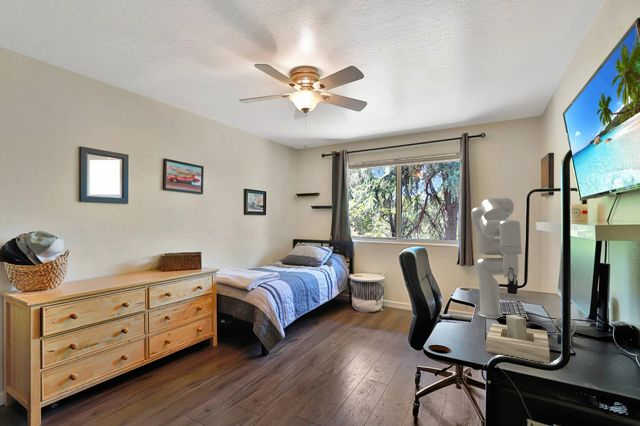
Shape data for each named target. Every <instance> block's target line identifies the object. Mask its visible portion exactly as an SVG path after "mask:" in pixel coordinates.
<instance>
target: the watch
mask: <svg viewBox="0 0 640 426" xmlns="http://www.w3.org/2000/svg"><path fill="white" fill-rule="evenodd" d="M561 316H562V315H560V316H559V315H558V316H557V317H556V319H555V320H553V323H552V325H551V326H552V328H553V330H554V332H556V334H557V337H556V338H557V345H561V333H562V332H560V331H559V330H558V329H557V328H556V327H557V326H558V325H559V324H560V322H562V320H561ZM570 322H571V323H573V325H574V326H573V329H572V331H571V332H570V333H571V346H570V347H572V346H573V344H574V334H575V332H576V331H577V328H578V327H577V323H576V321H575V320H574V319H573V318H571V321H570Z"/></svg>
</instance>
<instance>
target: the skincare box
mask: <svg viewBox="0 0 640 426" xmlns="http://www.w3.org/2000/svg"><path fill="white" fill-rule="evenodd" d="M505 317H506V325H507V334H508V338H511V339H518V340H524V341H528V340H527V320H526V318H525V317H522V316H520V315H517V314H506V315H505Z"/></svg>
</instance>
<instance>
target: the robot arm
mask: <svg viewBox="0 0 640 426" xmlns="http://www.w3.org/2000/svg"><path fill="white" fill-rule="evenodd" d="M514 209H515V204H514V202H513V200H512V199H511V198H508V197H498V198H497V197H495V198H494V197H493V198H487V199H484V200H483V201H482V202H481V203H480V206H476V207H473V208H472V210H471V211H470V216H471V221H472V224H473V227H474V228H475V231H476V242H477V244H476V245H477V251H478V253H479V254H480V255H483V256H500V257H480V258H478V259H477V260H476V262H475V263H476V264H475V267H476V272H477V277H478V288H479V289H478V290H479V305H480V306H479V308H480V310H478V311H477V315H478V316H479V317H482V318H486V319H492V320H495V319H497V320H499V319H498V318H500V317H502V316H503V315H502V314H503V313H502V312H501V302H500V301H501V300H500V298H501V297H500V284H499V282H498V281H497V279H496V278H495V277H494V276H503V277H504V279H506V278H507V283H506V284H507V285H506V287H507V289H506V290H507V294H509V295H510V294H511V295H518V289H519V283H518V278H519V269H520V263H519V261H520V259H519V255H522V253H523V252H522V250H523V249H522V235H521V223H520V221H519V220H514V219H509V217H511V216H512V214H513V212H514ZM500 319H501V318H500Z"/></svg>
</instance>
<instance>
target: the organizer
mask: <svg viewBox="0 0 640 426" xmlns="http://www.w3.org/2000/svg"><path fill="white" fill-rule="evenodd" d="M526 328H527V327H526ZM527 340H528V341H524V340H518V339H511V338H508V334H507V324H500V323H499V324H498V323H491V324H490V328H489V330H488V332H487V336H486V338H485V345H486V352H487V353H490V354H496V355H501V354H503V355H502V356H506V355H509V356H508V357H511V356H514V357H513V358H517V357H519V358H518V359H522V358H524V359H523V360H527V359H528V361H532V360H534V361H533V362H537V361H538V362H539V363H543V362H544V363H543V364H548V362H550V363H551V356H550V347H549V345H550V343H549V337H548V331H547V330H542V329H534V328H533V329H532V328H527ZM540 361H541V362H540Z"/></svg>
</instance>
